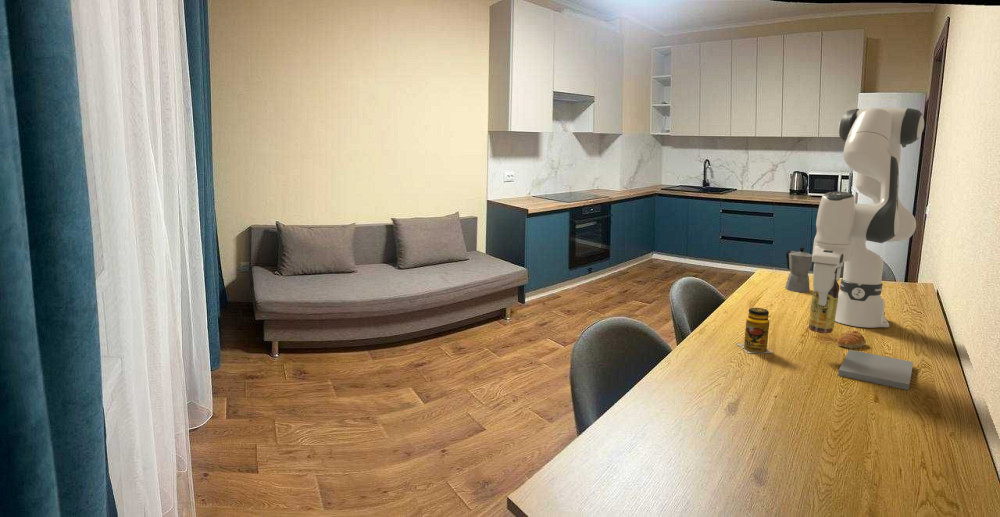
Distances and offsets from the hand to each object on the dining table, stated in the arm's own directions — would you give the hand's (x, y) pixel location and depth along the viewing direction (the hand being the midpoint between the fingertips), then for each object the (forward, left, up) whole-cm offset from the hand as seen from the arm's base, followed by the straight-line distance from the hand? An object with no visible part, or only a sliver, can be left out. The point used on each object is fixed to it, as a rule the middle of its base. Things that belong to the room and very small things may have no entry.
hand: (824, 301), depth 163 cm
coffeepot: (-88, -22, -16) cm, 92 cm away
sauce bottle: (0, 0, -9) cm, 9 cm away
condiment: (+4, -16, -16) cm, 23 cm away
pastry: (-19, +6, -16) cm, 26 cm away
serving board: (+2, +14, -16) cm, 21 cm away
